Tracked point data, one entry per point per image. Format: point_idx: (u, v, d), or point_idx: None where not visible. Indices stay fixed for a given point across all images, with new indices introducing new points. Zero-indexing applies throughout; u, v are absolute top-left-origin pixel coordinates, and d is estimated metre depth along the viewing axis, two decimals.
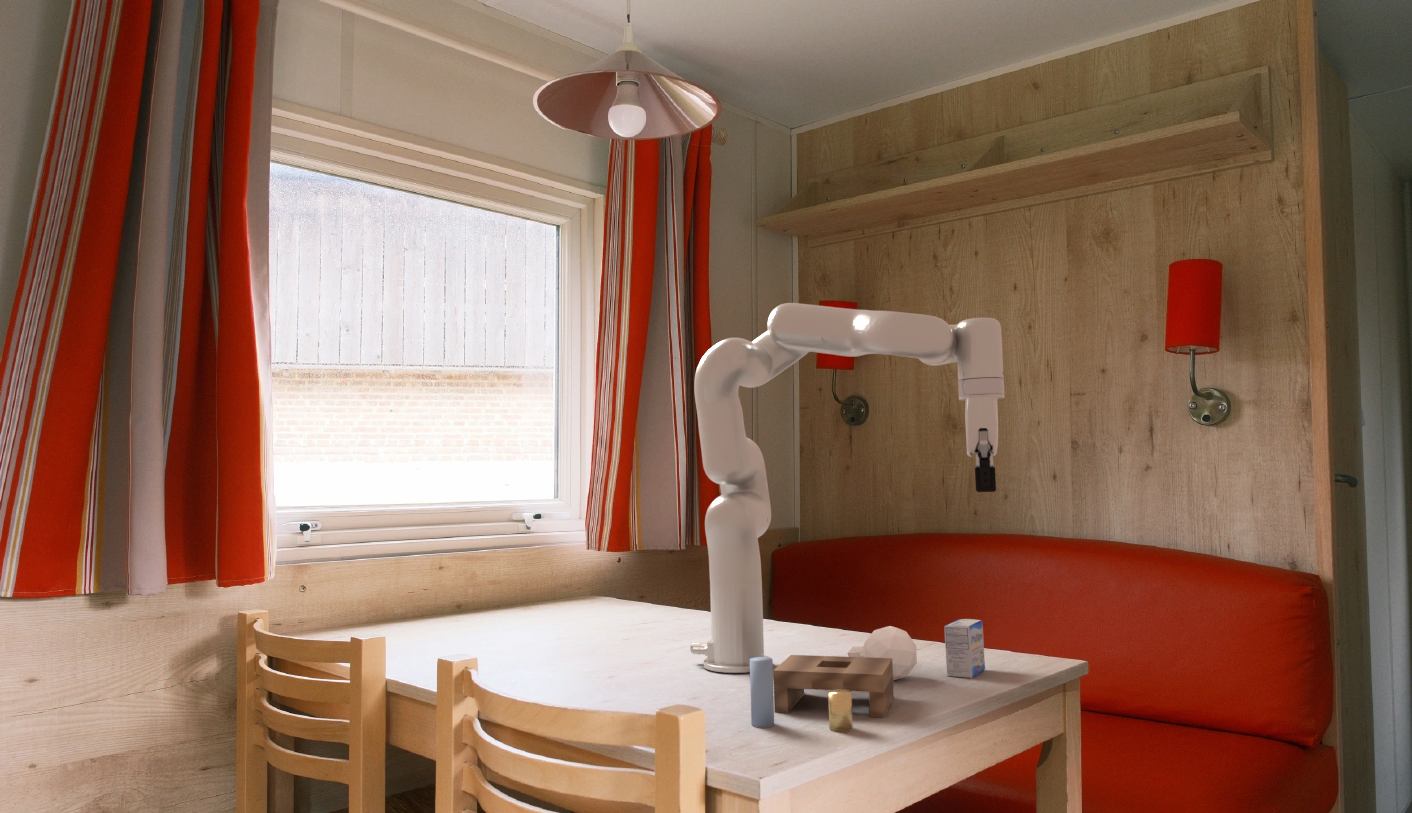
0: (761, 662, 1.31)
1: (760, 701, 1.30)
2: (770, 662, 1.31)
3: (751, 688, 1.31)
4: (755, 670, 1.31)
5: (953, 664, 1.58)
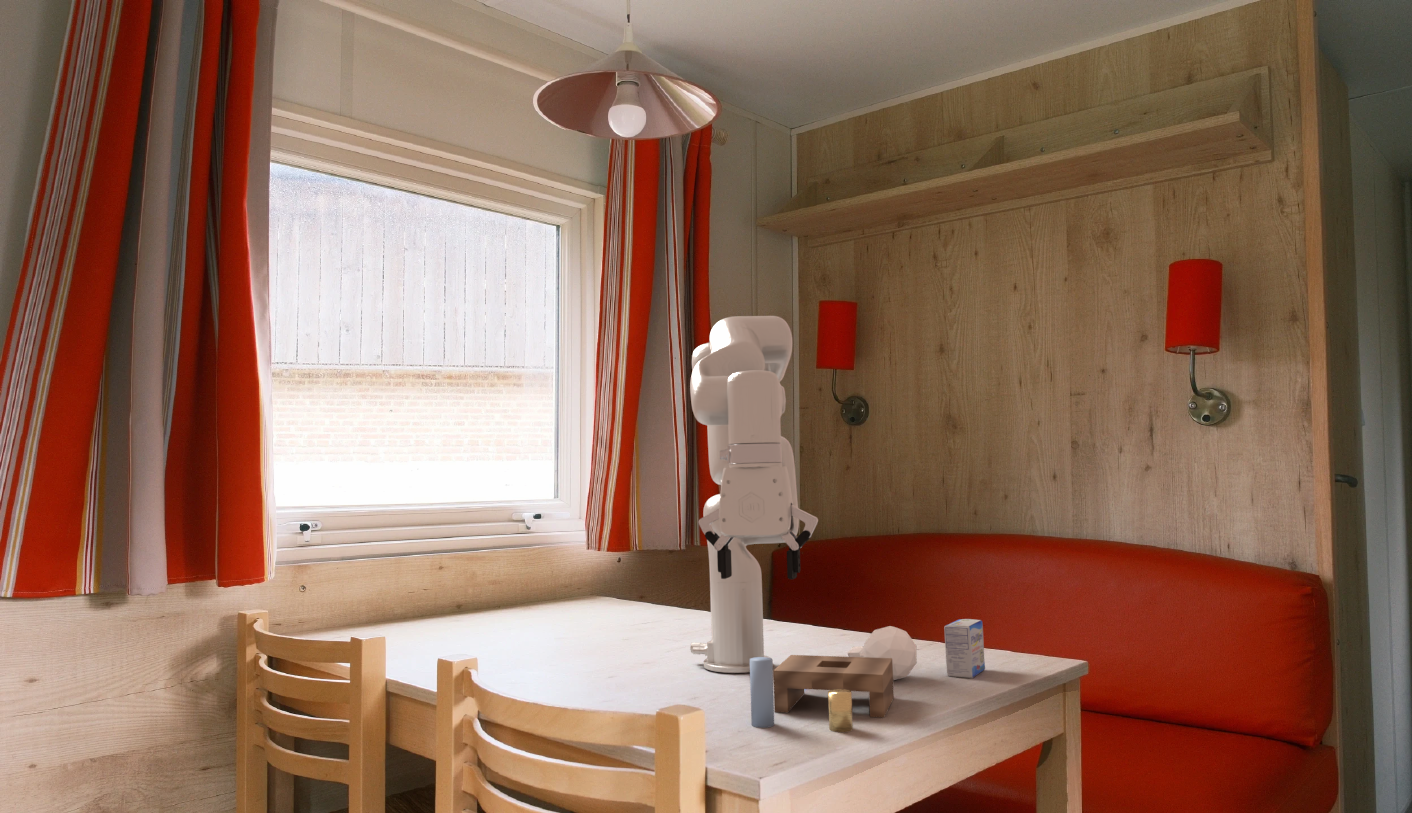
0: (761, 662, 1.31)
1: (760, 701, 1.30)
2: (770, 662, 1.31)
3: (751, 688, 1.31)
4: (755, 670, 1.31)
5: (953, 664, 1.58)
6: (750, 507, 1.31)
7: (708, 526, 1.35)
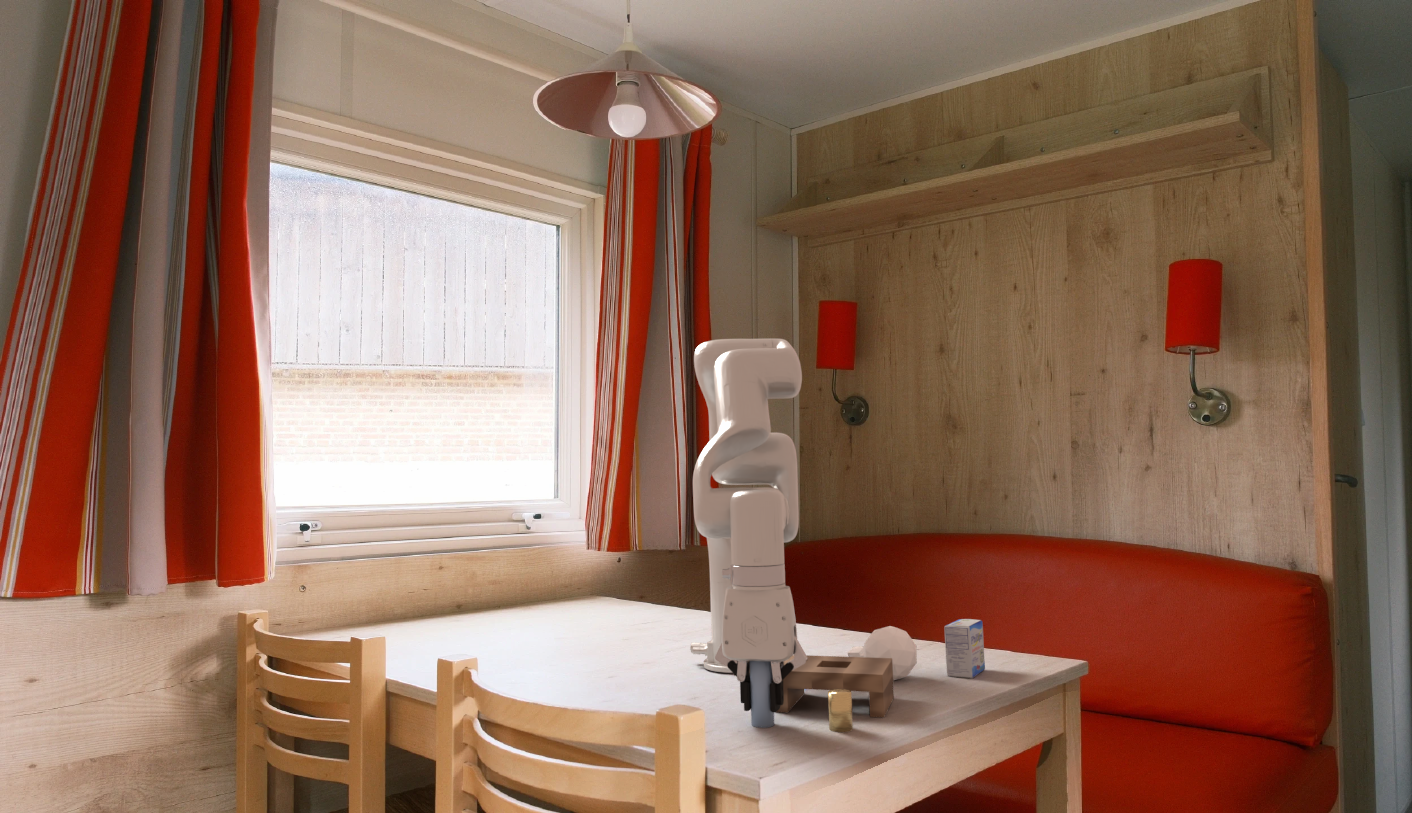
0: (761, 662, 1.31)
1: (760, 701, 1.30)
2: (770, 662, 1.31)
3: (750, 688, 1.31)
4: (755, 669, 1.31)
5: (953, 664, 1.58)
6: (753, 630, 1.30)
7: (726, 657, 1.33)
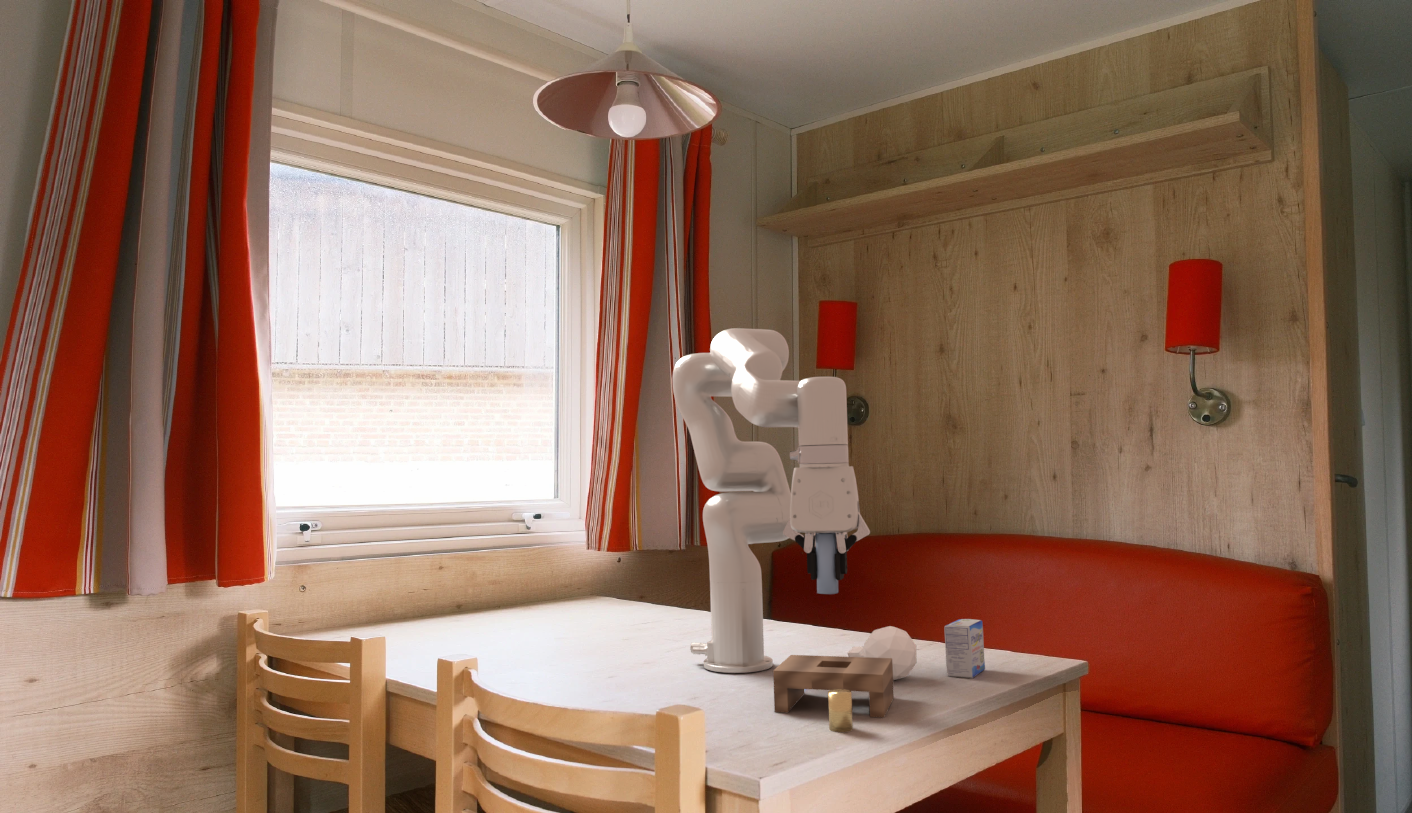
0: (827, 534, 1.41)
1: (826, 570, 1.41)
2: (835, 535, 1.42)
3: (816, 559, 1.42)
4: (821, 541, 1.42)
5: (953, 664, 1.58)
6: (820, 504, 1.41)
7: (793, 532, 1.44)
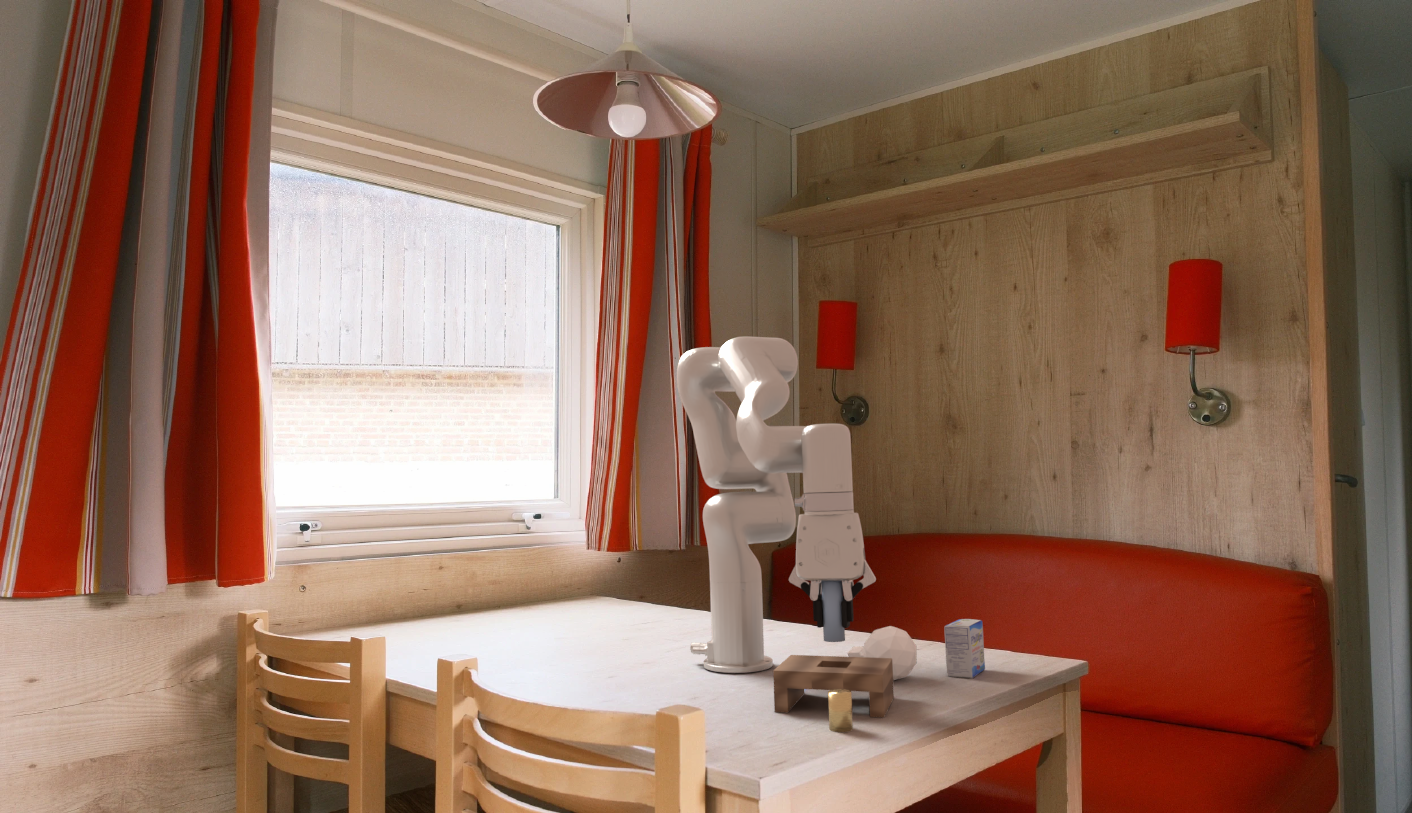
0: (833, 582, 1.41)
1: (832, 617, 1.41)
2: (841, 582, 1.42)
3: (823, 606, 1.42)
4: (827, 589, 1.41)
5: (953, 664, 1.58)
6: (826, 552, 1.40)
7: (799, 579, 1.44)
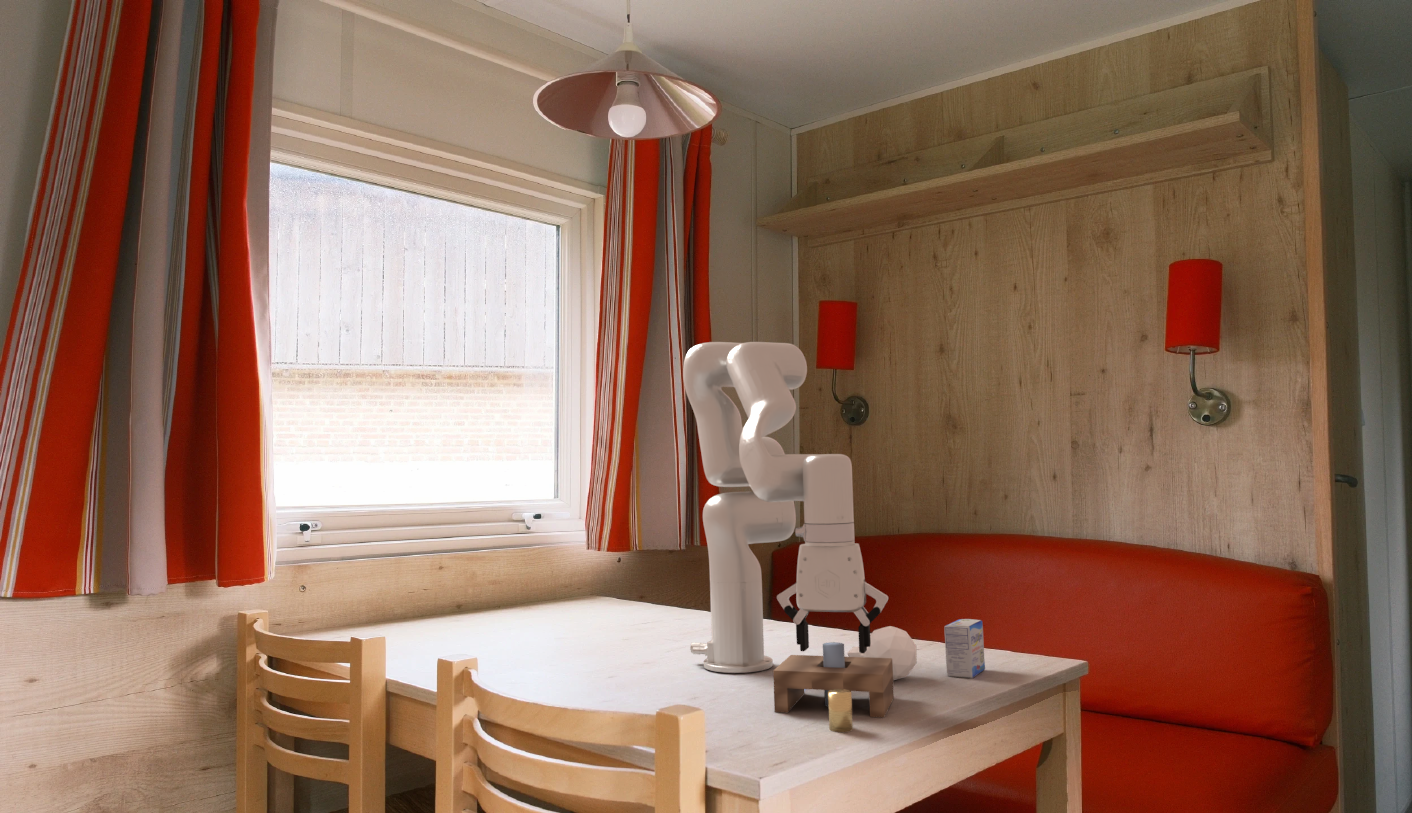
0: (834, 647, 1.41)
1: None
2: (842, 647, 1.41)
3: None
4: (828, 654, 1.41)
5: (953, 664, 1.58)
6: (826, 583, 1.40)
7: (786, 601, 1.44)
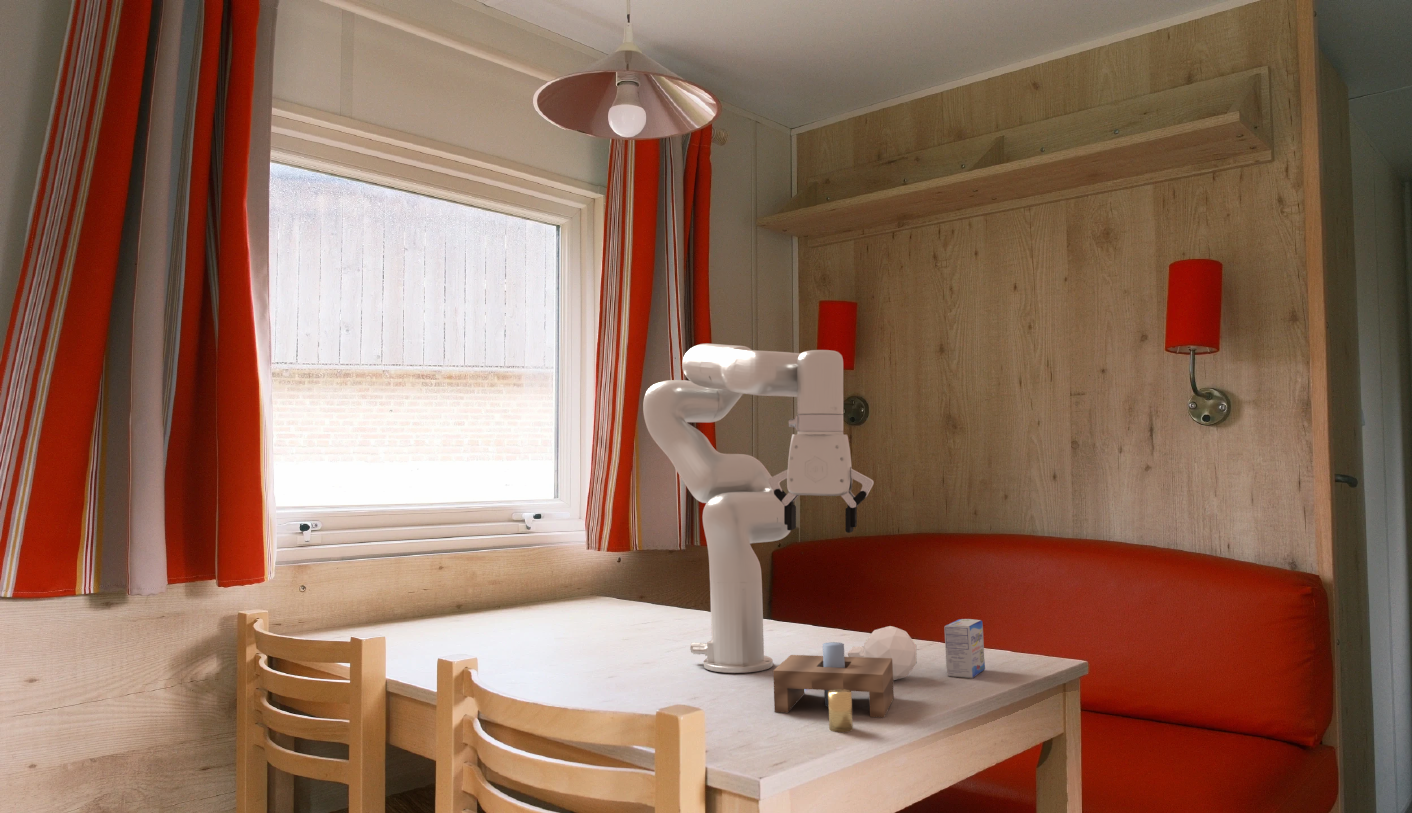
0: (834, 647, 1.41)
1: None
2: (842, 647, 1.41)
3: None
4: (828, 654, 1.41)
5: (953, 664, 1.58)
6: (815, 469, 1.51)
7: (777, 484, 1.55)
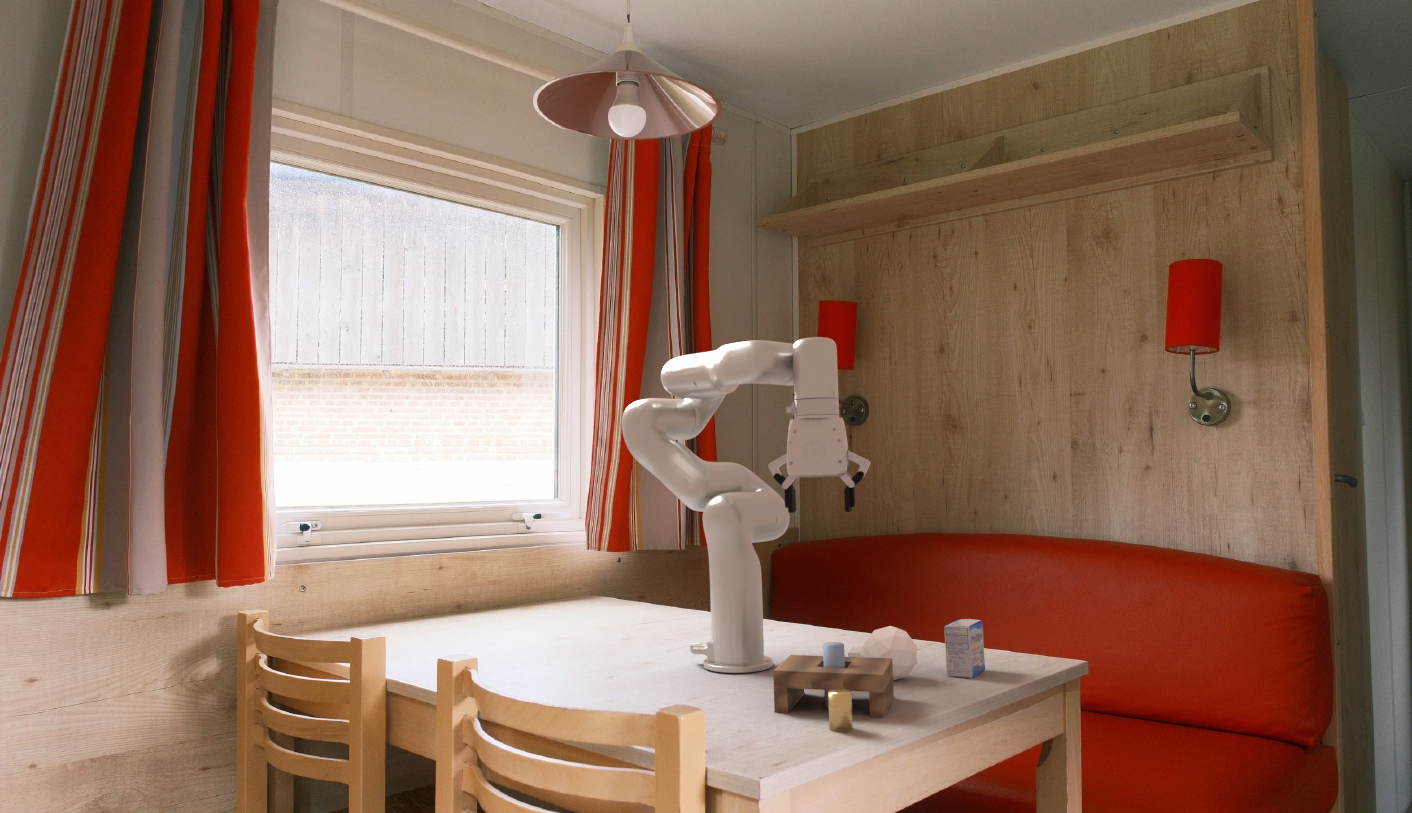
0: (834, 646, 1.41)
1: None
2: (842, 646, 1.41)
3: None
4: (829, 653, 1.41)
5: (953, 664, 1.58)
6: (813, 451, 1.56)
7: (776, 469, 1.60)
